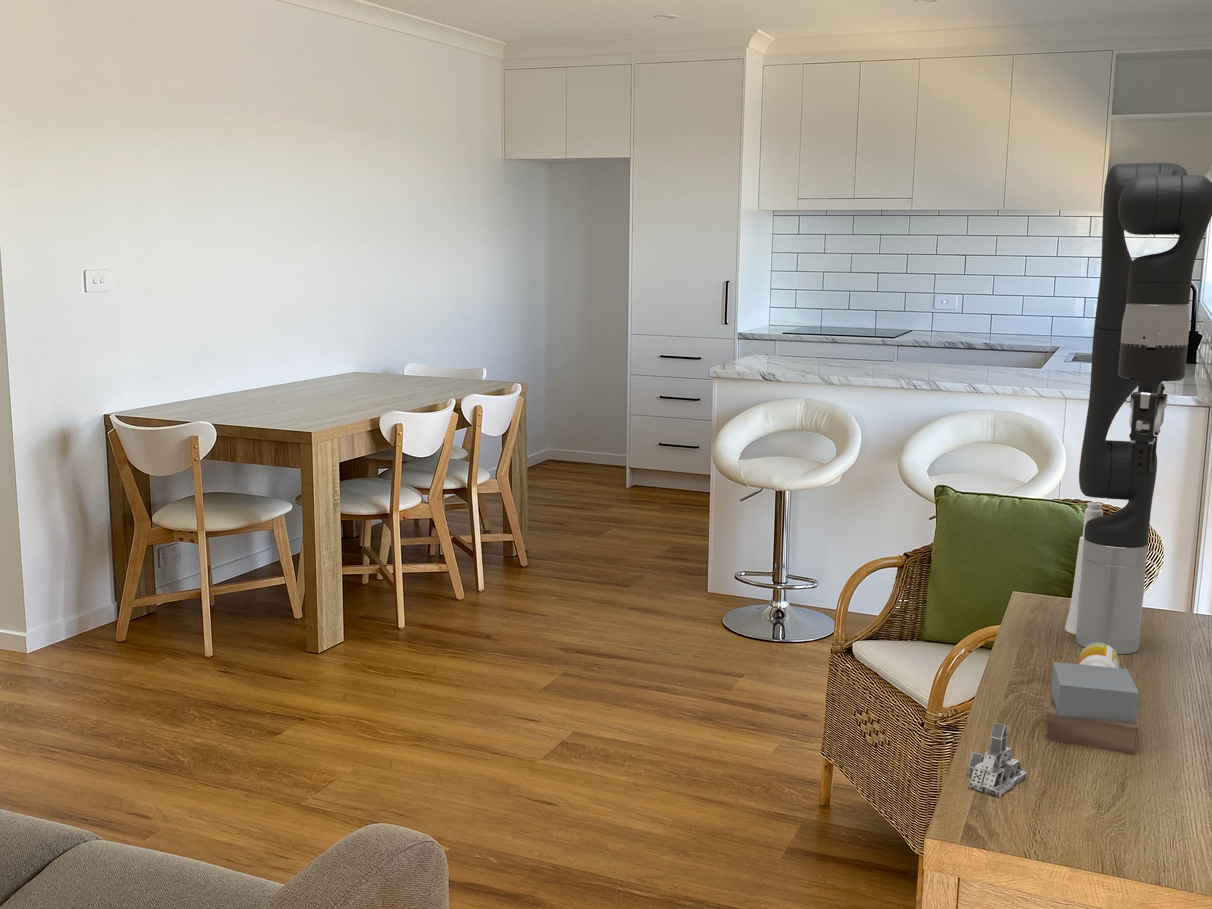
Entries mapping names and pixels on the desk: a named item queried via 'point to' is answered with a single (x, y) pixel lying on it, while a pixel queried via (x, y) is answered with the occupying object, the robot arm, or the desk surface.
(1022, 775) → the house of cards
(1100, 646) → the supplement bottle
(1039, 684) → the desk surface
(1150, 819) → the desk surface
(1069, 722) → the base block
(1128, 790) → the desk surface
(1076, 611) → the cosmetic bottle
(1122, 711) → the top block
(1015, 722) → the desk surface
